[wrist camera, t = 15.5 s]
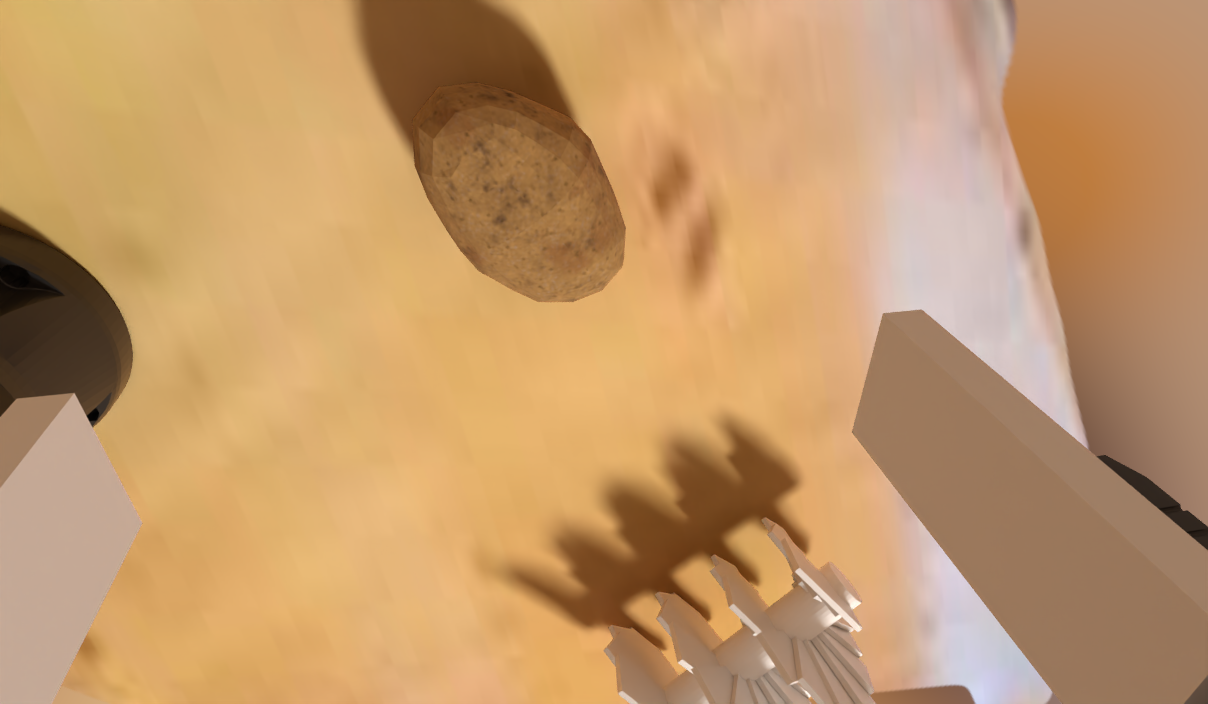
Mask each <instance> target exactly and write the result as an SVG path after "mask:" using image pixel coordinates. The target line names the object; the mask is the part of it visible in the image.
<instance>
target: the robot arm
mask: <svg viewBox="0 0 1208 704" xmlns="http://www.w3.org/2000/svg"><path fill="white" fill-rule="evenodd" d="M132 361H133V352H132V344H131V339H130V335H129V332H128V329H127V326H126V324H125V321H124V319H123V317H122V315H121V313H120V312H119V310H118V308H117V307H116V305H115V304H114V302H113V301H112V299H111V298H110V297H109V296H108V294H107V293H106V292H105V291H104V289H103V288H102V287H101V286H100V285H99V284H98V283H97V282H96V281H95V280H94V279H93V278H92V277H91V276H90V275H89V274H88V273H86V272H85V271H84V270H83V269H82V268H81V267H79V266H78V265H77V264H75V263H74V262H73V261H71V260H70V259H68V258H67V257H66V256H64V255H63V254H61V253H59V252H58V251H56V250H55V249H53V248H51V247H49V246H48V245H46V244H44V243H42V242H40V241H38V240H36V239H34V238H32V237H30V236H28V235H25V234H23V233H21V232H18V231H16V230H13V229H10V228H7V227H4V226H1V225H0V704H52V702H53V700H54V698H55V696H56V694H57V692H58V690H59V688H60V686H61V684H62V682H63V680H64V678H65V676H66V674H67V672H68V670H69V668H70V666H71V664H72V662H73V660H74V658H75V656H76V654H77V652H78V650H79V648H80V646H81V644H82V642H83V641H84V639H85V637H86V635H87V633H88V631H89V629H90V627H91V625H92V623H93V621H94V619H95V617H96V615H97V613H98V611H99V609H100V607H101V605H102V603H103V601H104V599H105V597H106V595H107V593H108V591H109V589H110V587H111V585H112V583H113V581H114V579H115V577H116V575H117V573H118V571H119V569H120V567H121V565H122V563H123V561H124V559H125V557H126V555H127V553H128V551H129V549H130V547H131V545H132V543H133V541H134V539H135V537H136V535H137V533H138V531H139V529H140V527H141V525H142V521H141V519H140V517H139V516H138V514H137V512H136V510H135V508H134V506H133V504H132V502H131V500H130V498H129V496H128V495H127V493H126V491H125V489H124V487H123V485H122V483H121V481H120V479H119V477H118V475H117V474H116V472H115V470H114V468H113V466H112V464H111V462H110V460H109V458H108V456H107V454H106V452H105V451H104V449H103V447H102V445H101V443H100V441H99V439H98V437H97V435H96V433H95V431H94V430H93V427H94V426H95V425H96V424H97V423H98V422H100V421H101V420H102V418H103V417H104V416H105V415H106V414H107V413H108V411H109V410H110V409H111V407H112V406H113V404H114V403H115V401H116V400H117V399H118V397H119V396H120V394H121V393H122V391H123V389H124V388H125V386H126V384H127V382H128V379H129V376H130V373H131V369H132ZM852 433H853V434H854V436H855V437H856V438H857V439H858V441H859V442H860V443H861V445H862V446H863V447H864V448H865V450H866V451H867V452H868V454H869V455H870V456H871V458H872V459H873V460H874V461H875V463H876V464H877V465H878V467H879V468H880V469H881V470H882V472H883V473H884V474H885V476H886V477H887V478H888V480H889V481H890V482H891V483H892V485H893V486H894V487H895V489H896V490H897V491H898V492H899V494H900V495H901V496H902V498H903V499H904V500H905V501H906V503H907V504H908V505H909V507H910V508H911V509H912V511H913V512H914V513H915V514H916V516H917V517H918V518H919V520H920V521H921V522H922V523H923V525H924V526H925V527H926V529H927V530H928V531H929V532H930V534H931V535H932V536H933V538H934V539H935V540H936V542H937V543H938V544H939V545H940V547H941V548H942V549H943V551H944V552H945V553H946V554H947V556H948V557H949V558H950V560H951V561H952V562H953V564H954V565H955V566H956V567H957V569H958V570H959V571H960V573H961V574H962V575H963V576H964V578H965V579H966V580H967V582H968V583H969V584H970V585H971V587H972V588H973V589H974V591H975V592H976V593H977V595H978V596H979V597H980V598H981V600H982V601H983V602H984V604H985V605H986V606H987V607H988V609H989V610H990V611H991V613H992V614H993V615H994V616H995V618H996V619H997V620H998V622H999V623H1000V624H1001V626H1002V627H1003V628H1004V629H1005V631H1006V632H1007V633H1008V635H1009V636H1010V637H1011V638H1012V640H1013V641H1014V642H1015V644H1016V645H1017V646H1018V648H1019V649H1020V650H1021V651H1022V653H1023V654H1024V655H1025V657H1026V658H1027V659H1028V660H1029V662H1030V663H1031V664H1032V666H1033V667H1034V668H1035V669H1036V671H1037V672H1038V673H1039V675H1040V676H1041V677H1042V679H1043V680H1044V681H1045V682H1046V684H1047V685H1048V686H1049V688H1050V689H1051V690H1052V691H1053V693H1054V694H1055V695H1056V697H1057V698H1058V699H1059V701H1060V702H1061V703H1062V704H1208V527H1207V526H1206V525H1205V524H1203V523H1202V522H1201V521H1200V520H1198V519H1197V518H1196V517H1195V516H1194V515H1192V514H1191V513H1190V512H1189V511H1182V509H1181V507H1180V504H1179V503H1178V502H1176V501H1175V500H1174V499H1173V498H1171V497H1170V496H1169V495H1168V494H1166V493H1165V492H1164V491H1163V490H1162V489H1160V488H1159V487H1158V486H1157V485H1155V484H1154V483H1153V482H1152V481H1151V480H1149V479H1148V478H1147V477H1145V476H1143V475H1141V474H1140V473H1138V472H1136V471H1134V470H1132V469H1130V468H1128V467H1126V466H1125V465H1123V464H1121V463H1119V462H1117V461H1115V460H1113V459H1111V458H1110V457H1108V456H1106V455H1103V456H1095V455H1094V454H1093V453H1091V452H1090V451H1089V450H1088V449H1087V448H1086V447H1084V446H1083V445H1082V444H1081V443H1080V442H1078V441H1077V440H1076V439H1075V438H1074V437H1072V436H1071V435H1070V434H1069V433H1068V432H1067V431H1065V430H1064V429H1063V428H1062V427H1061V426H1059V425H1058V424H1057V423H1056V422H1055V421H1053V420H1052V419H1051V418H1050V417H1049V416H1048V415H1046V414H1045V413H1044V412H1043V411H1042V410H1040V409H1039V408H1038V407H1037V406H1036V405H1034V404H1033V403H1032V402H1031V401H1030V400H1028V399H1027V398H1026V397H1025V396H1024V395H1023V394H1021V393H1020V392H1019V391H1018V390H1017V389H1015V388H1014V387H1013V386H1012V385H1011V384H1009V383H1008V382H1007V381H1006V380H1005V379H1004V378H1002V377H1001V376H1000V375H999V374H998V373H996V372H995V371H994V370H993V369H992V368H990V367H989V366H988V365H987V364H986V363H985V362H983V361H982V360H981V359H980V358H979V357H977V356H976V355H975V354H974V353H973V352H971V351H970V350H969V349H968V348H967V347H966V346H964V345H963V344H962V343H961V342H960V341H958V340H957V339H956V338H955V337H954V336H952V335H951V334H950V333H949V332H948V331H947V330H945V329H944V328H943V327H942V326H941V325H939V324H938V323H937V322H936V321H935V320H933V319H932V318H931V317H930V316H929V315H928V314H926V313H925V312H924V311H923V310H913V311H903V312H892V313H883V316H882V319H881V323H880V327H879V331H878V335H877V339H876V342H875V346H874V350H873V354H872V358H871V361H870V365H869V369H868V373H867V377H866V380H865V384H864V388H863V392H862V396H861V400H860V403H859V407H858V411H857V415H856V419H855V422H854V426H853V430H852Z"/></svg>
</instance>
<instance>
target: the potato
mask: <svg viewBox="0 0 1208 704" xmlns="http://www.w3.org/2000/svg"><path fill="white" fill-rule="evenodd" d="M412 126H413V144H414V161H415V168H416V170H417V173H418V175H419V178H420V180H421V183H422V185H423V188H424V190H425V193H426V195H427V198H428V200H429V201H430V203H431V205H432V206H433V208H434V210H435V211H436V213H437V215H438V216H439V218H440V220H441V221H442V223H443V225H444V226H445V228H446V230H447V231H448V233H449V234H450V236H451V237H452V239H453V240H454V242H455V243H456V245H457V246H458V248H459V249H460V250H461V252H462V253H463V254H464V255H465V256H466V257H467V258H468V260H469V261H470V262H471V263H472V264H473V265H474V266H475V267H476V268H477V270H478V271H479V272H481V273H483V274H485V275H487V276H489V277H490V278H492V279H494V280H496V281H498V282H499V283H501V284H503V285H505V286H506V287H508V288H510V289H512V290H514V291H516V292H518V293H520V294H522V295H524V296H527V297H529V298H531V299H533V300H535V301H537V302H574V301H577V300H579V299H582V298H584V297H587V296H589V295H592V294H594V293H597V292H599V291H602V290H603V289H604V287H605V286H606V285H607V284H608V283H609V282H610V280H611V279H612V278H613V277H614V276H615V275H616V273H617V272H618V271H619V270H620V269H621V268H622V265H623V261H624V248H625V230H626V227H625V224H624V221H623V218H622V215H621V212H620V209H619V206H618V203H617V200H616V197H615V194H614V192H613V189H612V187H611V185H610V182H609V180H608V178H607V176H606V173H605V171H604V169H603V166H602V164H601V162H600V160H599V157H598V155H597V153H596V151H595V148H594V146H593V144H592V142H591V139H590V138H589V137H588V136H587V135H586V134H585V133H584V132H583V131H582V130H581V129H580V128H579V127H578V125H577V124H576V123H575V122H574V121H573V120H572V119H571V118H570V117H569V116H566V115H564V114H562V113H560V112H557V111H555V110H553V109H551V108H549V107H546V106H544V105H542V104H540V103H537V102H535V101H533V100H531V99H528V98H526V97H524V96H521V95H519V94H517V93H515V92H512V91H510V90H506V89H502V88H498V87H494V86H490V85H486V84H482V83H478V82H475V83H466V84H458V85H449V86H440V87H438V88H437V89H436V90H435V92H434V93H433V94H432V95H431V97H430V98H429V99H428V101H427V102H426V103H425V104H424V106H423V107H422V108H421V109H420V111H419V112H418V113H417V114H416V116H415V117H414V118H413V119H412Z"/></svg>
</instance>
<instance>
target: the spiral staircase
mask: <svg viewBox="0 0 1208 704" xmlns="http://www.w3.org/2000/svg"><path fill="white" fill-rule="evenodd" d="M761 521H762V522H763V524H764V525H765V527H766V528H767V530H768V531H769V532H768V534H767V535H768V536H769V537H770V539H771V540H772V541H773V542H774V543H775V545H776V546H777V547H778V548H779V549H780V551H781V552H782V553H783V554H784V555H785V557H786V559H787V561H788V563H789V565H790V567H791V570H792V572H793V573H792V577H793V580H794V581H795V582H794V583H793V584H792V586H793V588H794V589H792V590H791V591H790V592H788V593H787V594H786V595H784V596H783V597H782V598H781V599H779V600H778V601H777V602H775V603H774V604H773V605H771V606H770V607H768V605H767V604H766V603H765V602H764V600H763V599H762V598H761V596H760V595H759V593H758V591H757V590H756V589H755V588H754V587H753V586H752V585H751V584H750V583H749V582H748V581H747V580H746V579H745V578H744V577H743V576H742V575H741V574H740V573H739V571H738V569H737V568H736V566H734V565H733V564H731V563H729V562H727V561H725V560H724V559H722V558H720V557H718V556H717V555H715V554H714V555H713V556H712V557H710V558H711V559H712V561H713V563H714V565H715V567H714V568H713V569H712V570H710V572H711V574H712V575H713V576H714V578H715V579H716V580H717V582H718V583H719V584H720V586H721V587H722V588H723V590H724V591H725V593H726V598H727V602H728V606H729V608H730V609H731V610H732V611H733V612H734V613H735V614H736V615H737V616H738V617H739V618H740V620H741V622H742V625H743V627H742V628H741V629H740V630H738V631H737V632H736V633H735V634H733V635H732V636H731V637H729V638H728V639H727V640H725V641H724V642H723V641H722V640H721V638H720V637H719V636H718V635H717V634H716V632H715V631H714V630H713V629H712V627H711V626H710V625H709V624H708V623H707V621H706V620H705V619H704V618H703V616H702V615H701V614H700V613H699V612H698V611H697V610H695V609H694V608H693V607H692V606H690V605H689V604H688V603H687V602H685V601H684V600H683V599H682V598H680V597H679V595H677V594H675V593H672V594H669V593H664V592H657V593H656V594H655V596H656V598H657V599H658V601H659V603H660V605H661V607H662V608H661V610H660V612H659V614H658V616H657V618H656V619H657V620H658V621H659V623H660V624H661V625H662V626H663V628H664V629H665V630H666V631H667V632H668V634H669V635H670V636H671V637H672V641H673V645H674V649H675V653H676V657H677V662H678V663H679V664H680V665H682V666H683V667H684V668H686V669H687V670H686V671H685V672H683V673H682V674H681V675H678V673H677V672H676V671H675V669H674V668H673V667H672V665H671V664H670V663H669V661H668V660H667V659H666V657H665V656H664V655H663V653H662V652H661V651H660V649H659V648H658V647H655V646H654V645H653V644H652V643H651V642H649V641H648V640H647V639H646V638H645V637H643V636H642V635H641V634H640V633H638V632H637V631H636V630H635V629H634V628H632V627H631V628H624V627H620V626H615V625H611V626H610V627H609V630H610V632H611V635H612V637H613V640H612V641H611V642H610V643H609V645H608V646H607V647H606V648H605V649H604V652H605V653H606V654H607V656H608V657H609V659H610V660H611V661H612V663H613V664H614V665H615V667H616V676H617V690H618V694H619V695H620V696H621V697H623V698H624V699H625V700H626V701H628V702H629V703H630V704H812V703H811V702H810V701H809V700H808V699H807V698H809V697H810V696H811V697H812V698H813V699H814V700H815V701H816V702H817V704H876V703H875V702H874V701H873V699H872V698H871V696H870V695H871V694H872V693H873V692H874V689H873V686H872V683H871V680H870V677H869V673H868V670H867V667H866V666H865V665H864V663H863V662H862V661H861V660H860V659H859V657H861V656H862V655H863V654H862V652H861V651H860V649H859V647H858V646H857V644H856V642H855V641H854V639H853V637H852V635H851V634H850V632H852V631H853V630H856V631H857V632H859V631H860V630H861V629H863V628H862V627H861V625H860V623H859V621H858V619H857V617H856V616H855V614H854V612H853V610H852V609H854V608H855V607H856V606H858V605H859V604H860V603H862V600H861V598H860V596H859V594H858V593H857V591H856V590H855V588H854V587H853V585H852V584H851V583H850V582H849V580H848V579H847V578H846V577H845V575H844V574H843V573H842V572H841V571H840V570H839V569H838V568H837V567H836V566H835V565H834V564H833V563H831V562H828V563H827V564H825V565H824V566H823V567H821V568H820V569H819V570H818V569H817V568H816V567H815V566H814V565H813V564H812V563H811V562H810V561H809V560H808V559H807V558H806V557H805V555H804V553H803V551H802V550H800V549H799V548H798V547H797V546H796V545H795V544H794V543H793V541H792V540H791V538H790V537H789V535H788V534H787V533H786V531H785V530H784V528H782V527H781V526H779V525H778V524H777V523H774V522H773V521H771V520H769V519H768V518H766V517H764V518H763V519H762V520H761ZM868 693H869V694H870V695H869V694H868Z"/></svg>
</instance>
